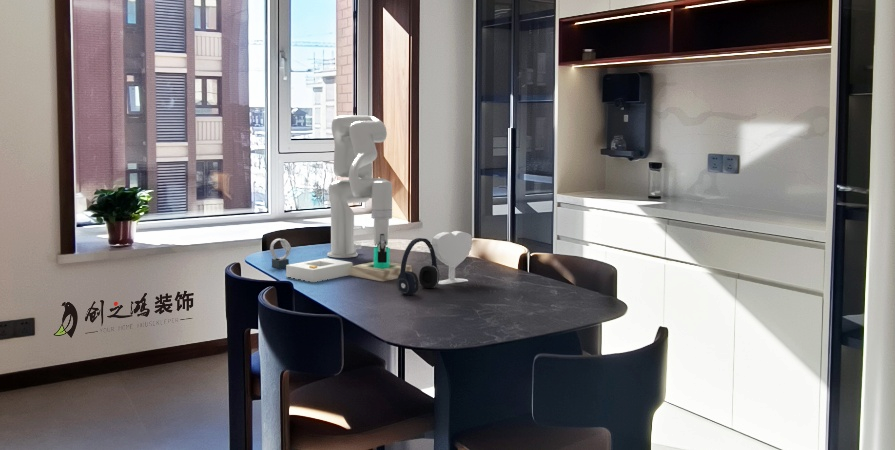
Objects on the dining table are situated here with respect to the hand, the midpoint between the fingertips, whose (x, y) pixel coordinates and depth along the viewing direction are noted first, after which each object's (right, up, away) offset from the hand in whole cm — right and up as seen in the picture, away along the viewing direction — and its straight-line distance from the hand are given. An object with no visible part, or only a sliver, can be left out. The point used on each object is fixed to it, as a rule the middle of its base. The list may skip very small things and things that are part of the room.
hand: (381, 260), depth 323 cm
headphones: (+15, -10, -26) cm, 31 cm away
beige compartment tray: (0, -6, +1) cm, 6 cm away
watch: (-40, -3, +14) cm, 43 cm away
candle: (0, -6, +1) cm, 6 cm away
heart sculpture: (+26, -8, -8) cm, 28 cm away
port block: (-23, -6, -2) cm, 23 cm away
